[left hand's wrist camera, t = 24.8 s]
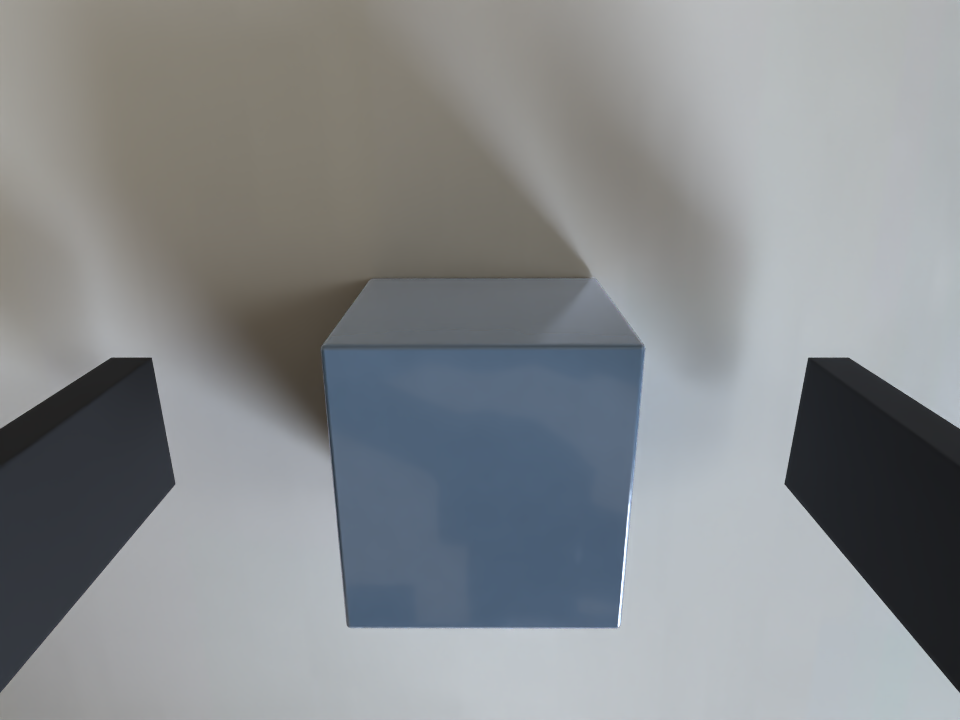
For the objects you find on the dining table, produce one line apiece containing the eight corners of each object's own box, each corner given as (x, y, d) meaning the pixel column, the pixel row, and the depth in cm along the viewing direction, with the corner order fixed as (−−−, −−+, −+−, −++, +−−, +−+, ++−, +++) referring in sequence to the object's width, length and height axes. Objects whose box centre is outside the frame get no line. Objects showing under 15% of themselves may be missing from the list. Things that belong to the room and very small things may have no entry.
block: (597, 277, 13) (646, 344, 9) (584, 493, 15) (621, 630, 11) (369, 277, 13) (318, 345, 9) (382, 493, 15) (345, 629, 11)
